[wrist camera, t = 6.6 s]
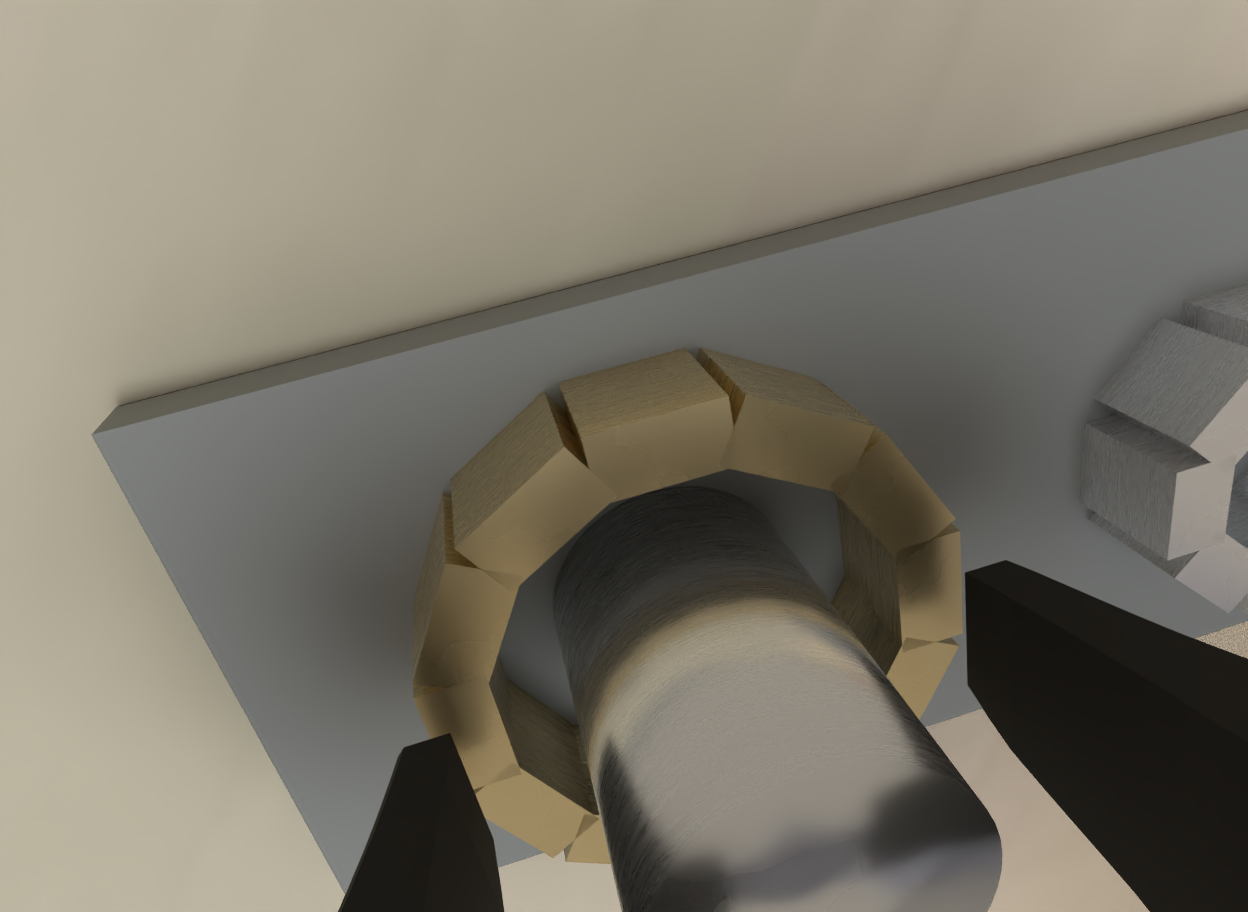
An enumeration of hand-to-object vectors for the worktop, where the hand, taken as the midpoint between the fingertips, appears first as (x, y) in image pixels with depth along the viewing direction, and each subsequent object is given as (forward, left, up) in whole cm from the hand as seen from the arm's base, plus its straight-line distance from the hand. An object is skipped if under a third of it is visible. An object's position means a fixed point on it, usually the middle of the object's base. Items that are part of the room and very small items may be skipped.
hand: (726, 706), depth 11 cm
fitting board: (-4, 0, -4) cm, 6 cm away
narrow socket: (-10, 0, -4) cm, 11 cm away
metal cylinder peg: (0, 0, -3) cm, 3 cm away
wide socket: (0, 0, -4) cm, 4 cm away
